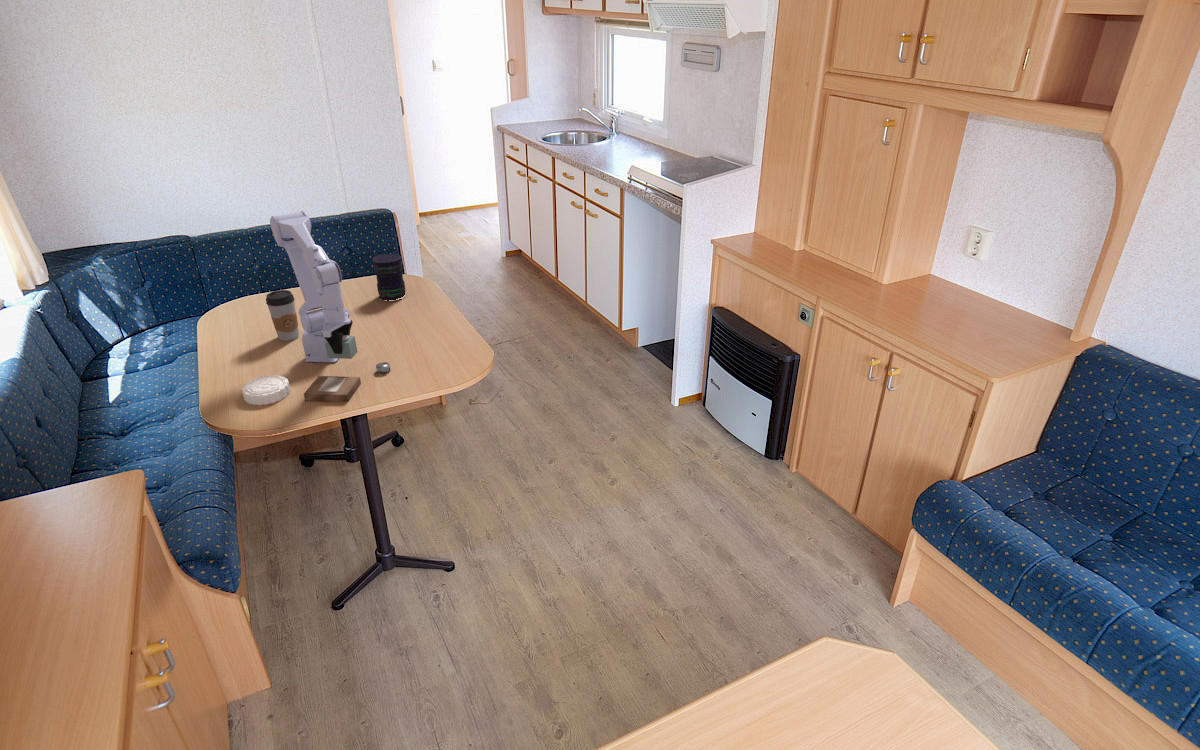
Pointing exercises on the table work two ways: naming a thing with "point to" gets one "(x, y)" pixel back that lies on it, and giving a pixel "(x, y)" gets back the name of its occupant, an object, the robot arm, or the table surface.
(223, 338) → the table surface
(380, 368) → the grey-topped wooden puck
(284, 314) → the coffee cup
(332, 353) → the block
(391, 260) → the storage jar
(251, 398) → the mooncake
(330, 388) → the stand
